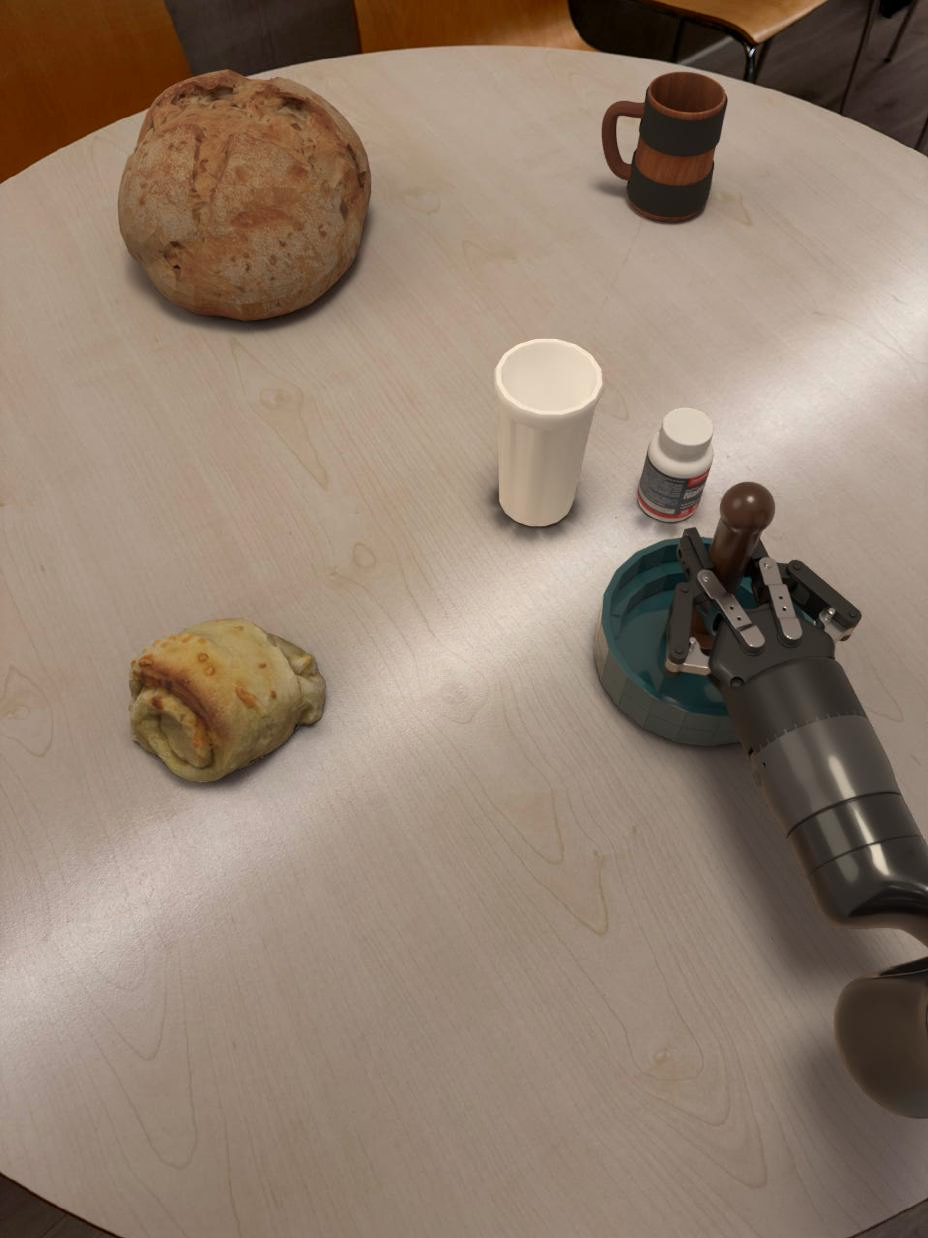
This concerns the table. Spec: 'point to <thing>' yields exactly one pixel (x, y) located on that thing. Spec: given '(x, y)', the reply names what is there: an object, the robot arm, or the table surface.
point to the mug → (669, 144)
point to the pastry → (221, 697)
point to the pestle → (734, 543)
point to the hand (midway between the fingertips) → (710, 531)
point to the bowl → (658, 651)
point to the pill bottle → (677, 465)
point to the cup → (543, 426)
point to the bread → (244, 195)
